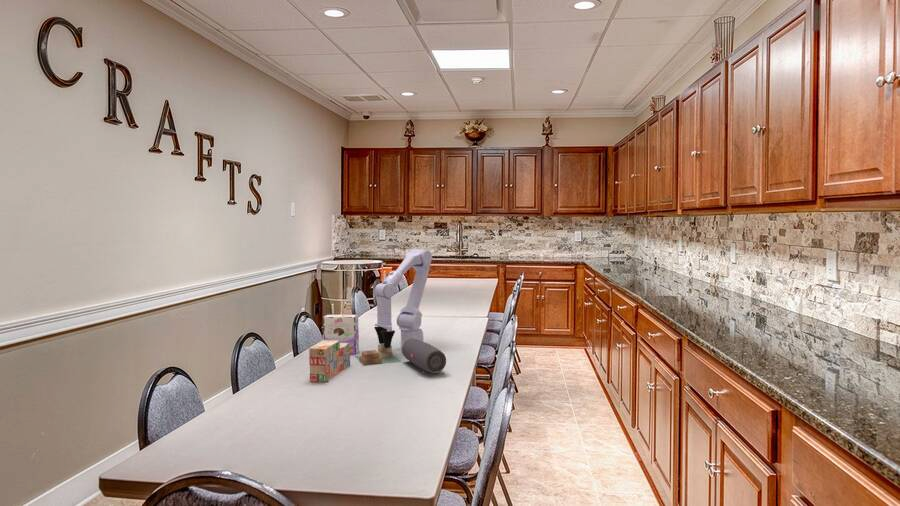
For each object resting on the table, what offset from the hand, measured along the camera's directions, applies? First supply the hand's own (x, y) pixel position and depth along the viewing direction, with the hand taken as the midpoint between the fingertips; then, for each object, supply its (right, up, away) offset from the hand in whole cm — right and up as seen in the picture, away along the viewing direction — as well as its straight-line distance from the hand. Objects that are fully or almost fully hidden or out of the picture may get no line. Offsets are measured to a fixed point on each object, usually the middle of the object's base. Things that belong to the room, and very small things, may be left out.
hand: (384, 345), depth 225 cm
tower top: (-5, -3, -9) cm, 11 cm away
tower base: (-4, -5, -9) cm, 11 cm away
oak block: (0, -4, 0) cm, 4 cm away
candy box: (-19, -5, +6) cm, 20 cm away
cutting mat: (-2, -5, -4) cm, 7 cm away
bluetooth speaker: (+17, -6, -17) cm, 25 cm away
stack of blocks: (-17, -7, -23) cm, 29 cm away
